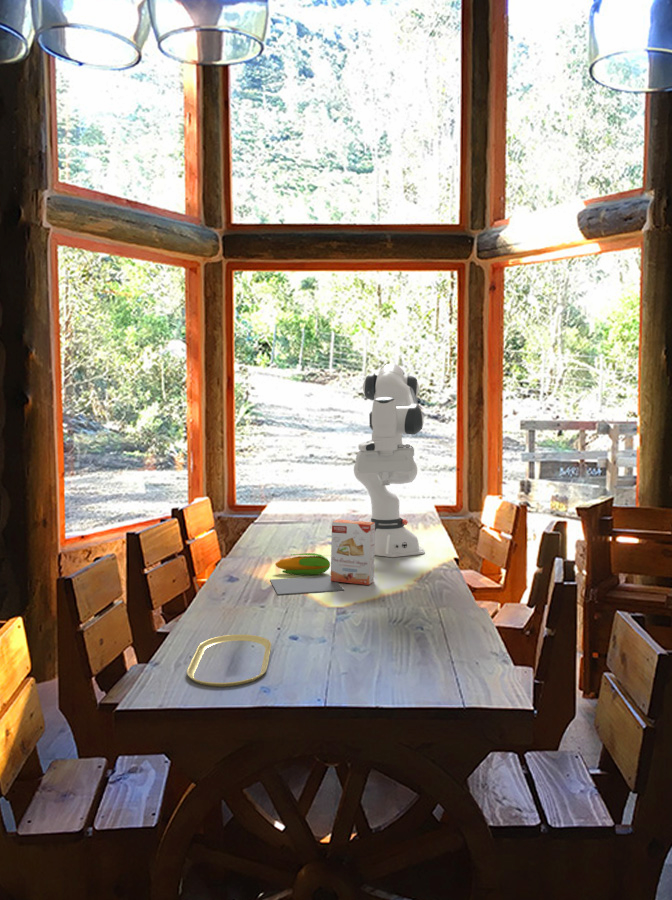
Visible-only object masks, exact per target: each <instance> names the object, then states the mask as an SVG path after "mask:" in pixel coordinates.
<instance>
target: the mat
mask: <svg viewBox="0 0 672 900" xmlns="http://www.w3.org/2000/svg"><path fill="white" fill-rule="evenodd" d="M269 581H270V583H271V585H272V587H273V589H274V591H275V592H276V594H277V596H286V595H300V594H301V595H302V594H303V595H304V594H316V593H329V592H330V593H331V592H344V591H345V589H344V587H342V585H341V584H340V582H335V581H331V575H321V576H319V575H317V576H302V577H288V578H274V579H269Z"/></svg>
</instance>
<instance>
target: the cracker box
mask: <svg viewBox="0 0 672 900" xmlns="http://www.w3.org/2000/svg"><path fill="white" fill-rule="evenodd" d="M330 547H331V552H330V553H331V554H330V576H331V581H335V582H338V583H345V584H346V583H348V584H354V585H355V584H356V585H365V586H370V585H371V584H372V583H373V582H374V580H375V579H374V577H375V555H374V550H375V522H371V521H363V520H362V521H359V520H352V519H351V520H350V519H349V520H346V519H336V520H333V521H331V546H330Z"/></svg>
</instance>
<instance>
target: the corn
mask: <svg viewBox="0 0 672 900" xmlns="http://www.w3.org/2000/svg"><path fill="white" fill-rule="evenodd" d="M291 556H294V557H289V558H282V559H280V560H279V561H277V562H275V566H276V567H277V568H278V569H282V573H284V574H288V575H292V574H294V575H295V576H319V575H321V574H324V573H326V572H327V571H328V570H329V569H330V568H331V561H330V560H329V559H328V557H325V556H324V555H322V554H320V553H313V552H312V553H311V552H310V553H296V554H295V553H294V554H293V553H292V554H291ZM294 575H293V576H294Z"/></svg>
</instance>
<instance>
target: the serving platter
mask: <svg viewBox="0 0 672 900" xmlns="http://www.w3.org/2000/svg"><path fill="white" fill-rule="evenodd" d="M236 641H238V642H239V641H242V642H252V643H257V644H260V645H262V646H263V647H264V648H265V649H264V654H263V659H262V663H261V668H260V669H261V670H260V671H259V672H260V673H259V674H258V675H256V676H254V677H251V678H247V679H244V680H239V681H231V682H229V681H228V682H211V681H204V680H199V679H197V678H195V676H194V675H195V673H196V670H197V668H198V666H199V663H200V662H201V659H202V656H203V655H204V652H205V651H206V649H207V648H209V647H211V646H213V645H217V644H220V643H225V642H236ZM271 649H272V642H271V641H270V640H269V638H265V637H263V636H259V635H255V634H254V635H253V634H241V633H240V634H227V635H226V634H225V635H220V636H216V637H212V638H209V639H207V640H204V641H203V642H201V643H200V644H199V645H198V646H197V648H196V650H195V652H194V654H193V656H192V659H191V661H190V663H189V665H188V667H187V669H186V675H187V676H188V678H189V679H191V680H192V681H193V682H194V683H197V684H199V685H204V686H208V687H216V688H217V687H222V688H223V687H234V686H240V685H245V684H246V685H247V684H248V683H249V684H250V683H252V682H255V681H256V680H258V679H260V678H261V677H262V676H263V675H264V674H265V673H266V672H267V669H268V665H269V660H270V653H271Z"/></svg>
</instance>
